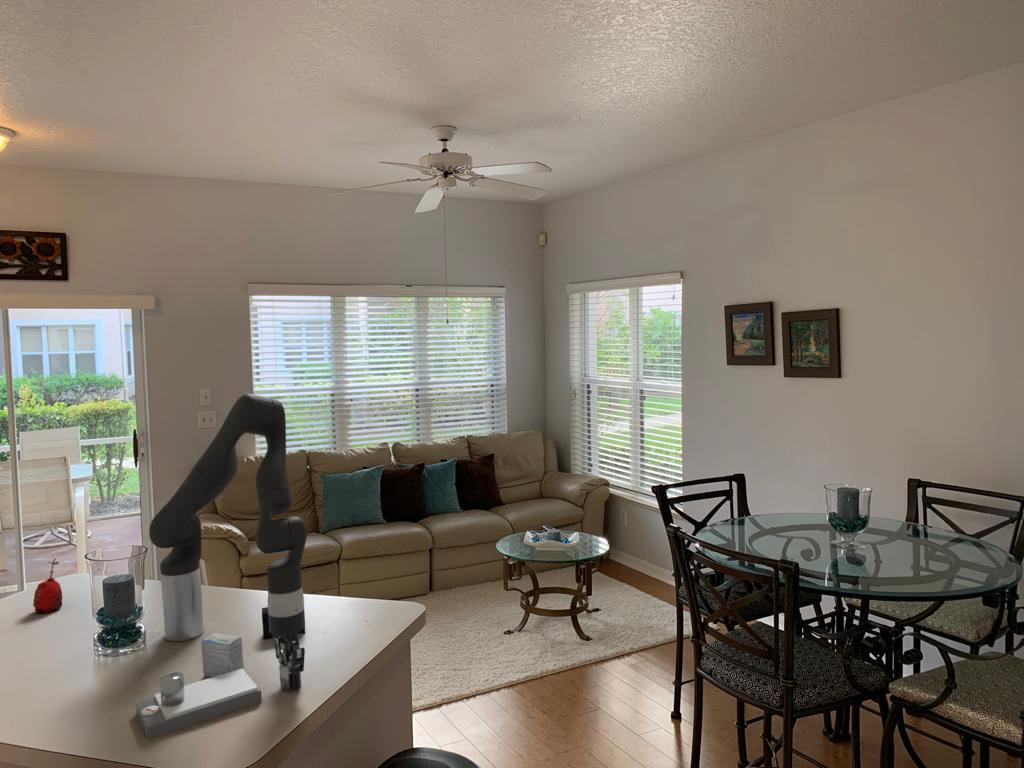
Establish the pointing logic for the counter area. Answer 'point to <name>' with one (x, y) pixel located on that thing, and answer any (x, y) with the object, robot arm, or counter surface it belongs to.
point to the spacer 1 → (172, 689)
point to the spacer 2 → (285, 678)
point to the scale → (199, 703)
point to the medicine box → (221, 654)
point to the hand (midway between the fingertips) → (290, 683)
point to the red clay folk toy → (48, 595)
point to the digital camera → (266, 625)
